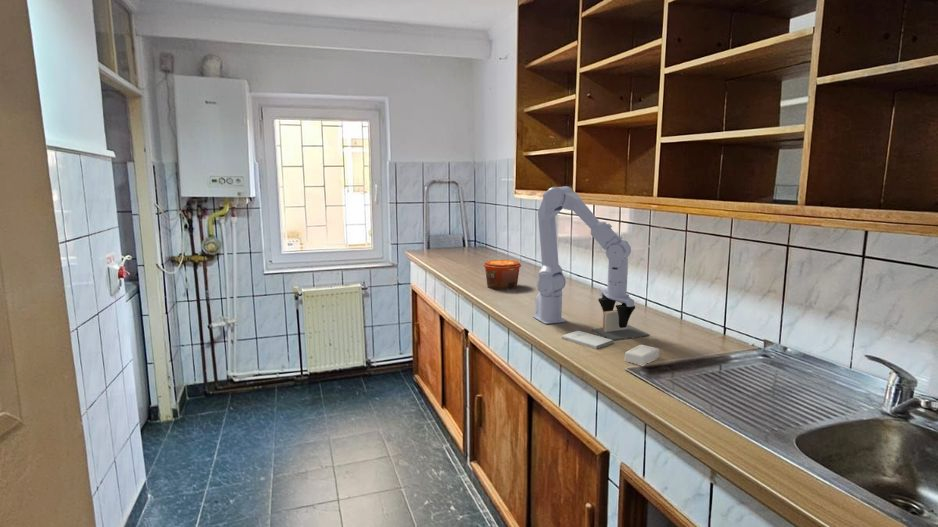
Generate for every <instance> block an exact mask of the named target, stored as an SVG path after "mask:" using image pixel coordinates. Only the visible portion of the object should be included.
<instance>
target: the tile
mask: <svg viewBox="0 0 938 527" xmlns="http://www.w3.org/2000/svg"><path fill="white" fill-rule="evenodd" d="M602 314H603V315H602V328H603V331H605V332H609V331H617V330H625V329H628V325H629V323H628V324H627V327H625V328H620V327H619V316H618V311H617V309H616V310H614V309H613V311H605V312H603V311H602Z"/></svg>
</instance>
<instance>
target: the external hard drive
mask: <svg viewBox="0 0 938 527" xmlns="http://www.w3.org/2000/svg"><path fill="white" fill-rule="evenodd" d="M562 338H564V339H567V340H566V341H568V340H570V341H569V342H571V341H573V342H572V343H574V342H576V343H575V344H577V343H580V344H579V345H581V344H583V345H582V346H584V345H586V346H585V347H587V346H589V347H588V348H591V347H592V348H591V349H594V348H595V349H594V350H598V349H600V347H601V348H603V346H604V347H606V346H605V345H607V346H609V345H612V344H614V340H611V339H607V338H605V337H603V336H601V335H597V334H592V333H588V332H585V331H581V330H575V331H572V332H569V333H566V334H562V335H561V339H562ZM564 339H563V340H564ZM611 343H612V344H611ZM608 344H609V345H608ZM597 348H598V349H597Z"/></svg>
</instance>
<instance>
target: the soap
mask: <svg viewBox="0 0 938 527" xmlns="http://www.w3.org/2000/svg"><path fill="white" fill-rule="evenodd" d="M624 353H625V354H624V362H625V361H627V362H626V363H629V362H631V363H630V364H632V363H635V364H634V365H636V364H641V365H644V364H646V363H648V362H650V361H652V360H654V359H656V358H658V357H659V358H660V348H658V347H653V346H649V345H646V344H645V345H644V344H640V345H637V346H635V347H633V348H631V349H629V350H627V351H625V352H624ZM659 358H658V359H659ZM656 360H657V359H656ZM654 361H655V360H654Z"/></svg>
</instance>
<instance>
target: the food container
mask: <svg viewBox="0 0 938 527" xmlns="http://www.w3.org/2000/svg"><path fill="white" fill-rule="evenodd" d="M484 262H485V263H483V267H484V269H485V275H486V278H485V280H486V285H487V286H486V287H487V288H488V289H492V290H499V291H500V290H503V291H504V290H506V291H507V290H508V291H509V290H513V289H516V288H517V287H518V282H519V275H520V268H521V267H522V264H521V263H520V262H519V261H518V260H514V259H513V260H510V259H491V260H487V261H484Z"/></svg>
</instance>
